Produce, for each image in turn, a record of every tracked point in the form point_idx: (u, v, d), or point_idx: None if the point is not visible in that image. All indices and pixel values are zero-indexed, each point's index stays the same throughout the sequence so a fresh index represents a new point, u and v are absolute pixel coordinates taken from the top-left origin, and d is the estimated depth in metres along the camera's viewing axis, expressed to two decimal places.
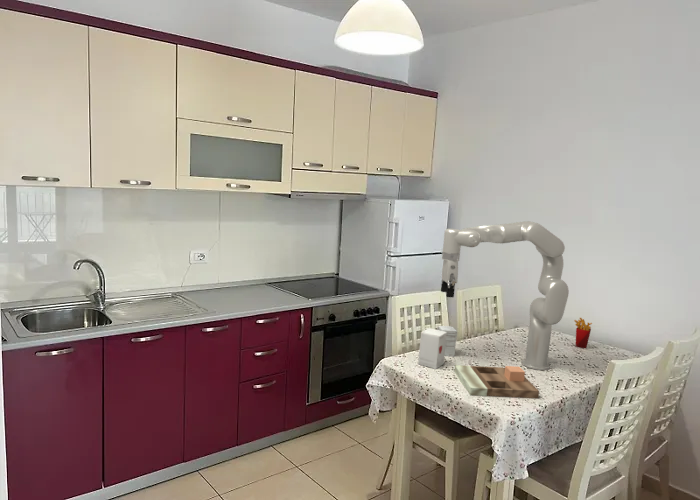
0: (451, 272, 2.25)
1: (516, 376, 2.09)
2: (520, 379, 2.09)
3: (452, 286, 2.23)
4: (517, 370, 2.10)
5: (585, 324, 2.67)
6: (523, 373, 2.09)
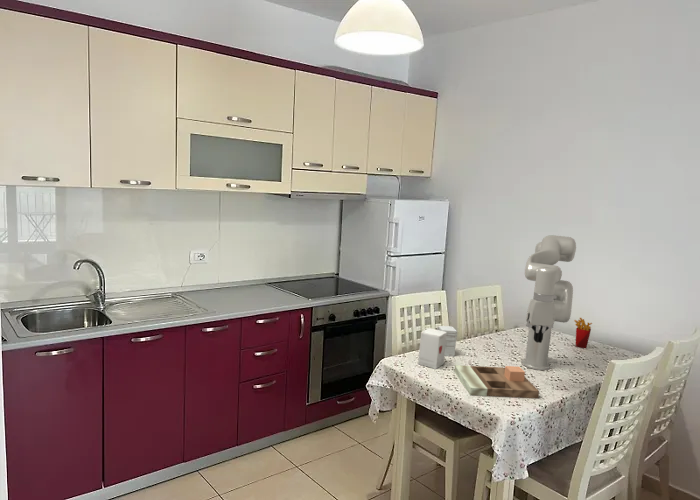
0: None
1: (516, 376, 2.09)
2: (520, 379, 2.09)
3: None
4: (517, 370, 2.10)
5: (585, 324, 2.67)
6: (523, 373, 2.09)
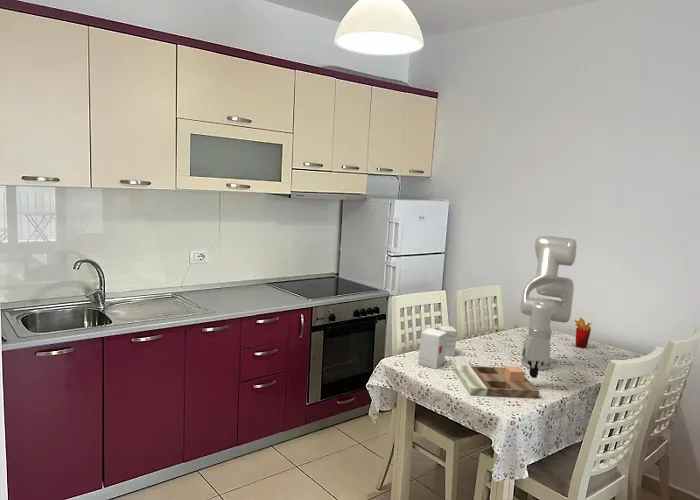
0: None
1: (516, 376, 2.09)
2: (520, 379, 2.09)
3: None
4: (517, 370, 2.10)
5: (585, 324, 2.67)
6: (523, 373, 2.09)
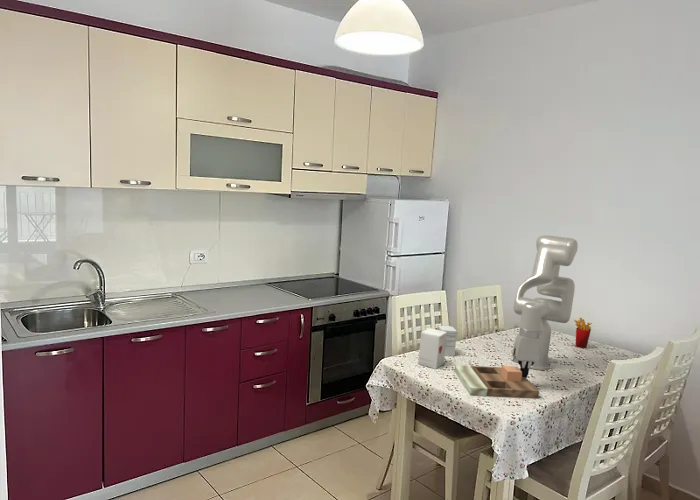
0: None
1: (513, 375, 2.09)
2: (517, 379, 2.09)
3: None
4: (514, 370, 2.10)
5: (585, 324, 2.67)
6: (520, 373, 2.09)
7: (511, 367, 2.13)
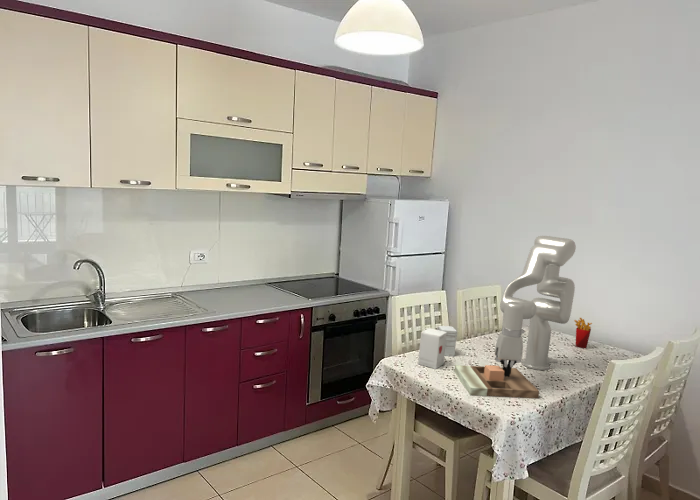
0: None
1: (495, 375, 2.08)
2: (499, 378, 2.09)
3: None
4: (496, 369, 2.09)
5: (585, 324, 2.67)
6: (502, 372, 2.08)
7: (494, 366, 2.13)
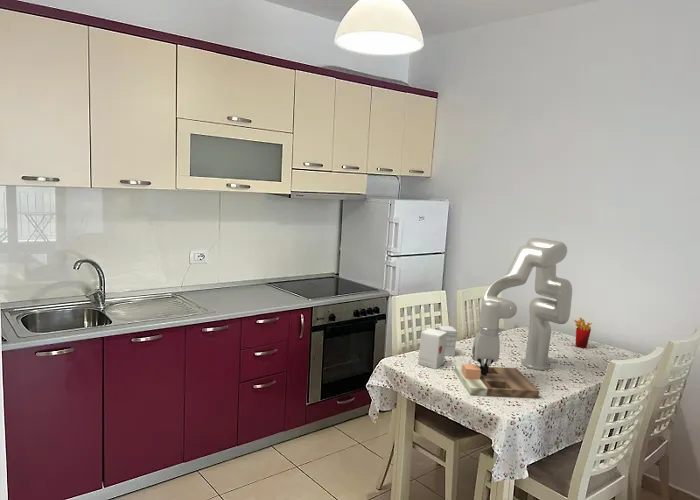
0: None
1: (471, 373, 2.08)
2: (476, 377, 2.08)
3: None
4: (473, 368, 2.09)
5: (585, 324, 2.67)
6: (479, 371, 2.08)
7: (471, 365, 2.12)
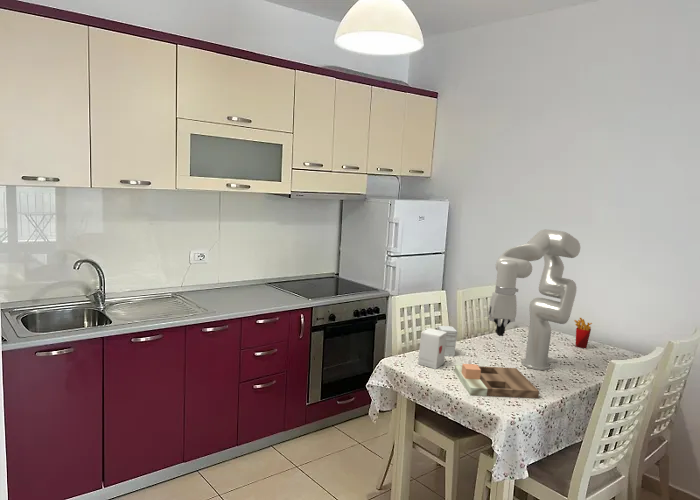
0: None
1: (471, 373, 2.08)
2: (476, 377, 2.08)
3: None
4: (473, 368, 2.09)
5: (585, 324, 2.67)
6: (479, 371, 2.08)
7: (471, 365, 2.12)
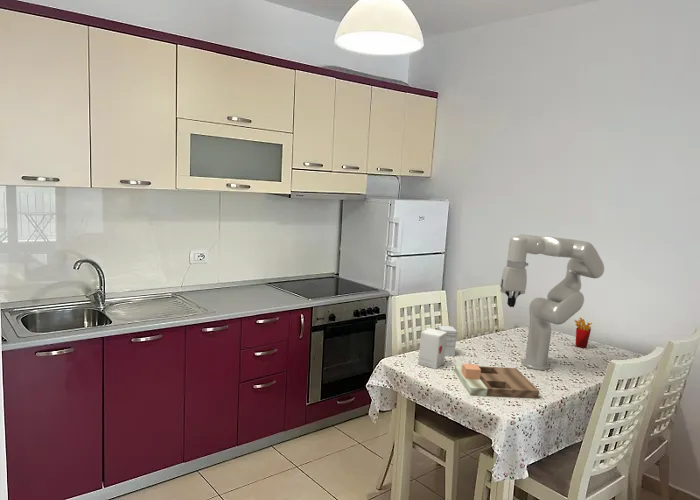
0: None
1: (471, 373, 2.08)
2: (476, 377, 2.08)
3: None
4: (473, 368, 2.09)
5: (585, 324, 2.67)
6: (479, 371, 2.08)
7: (471, 365, 2.12)
